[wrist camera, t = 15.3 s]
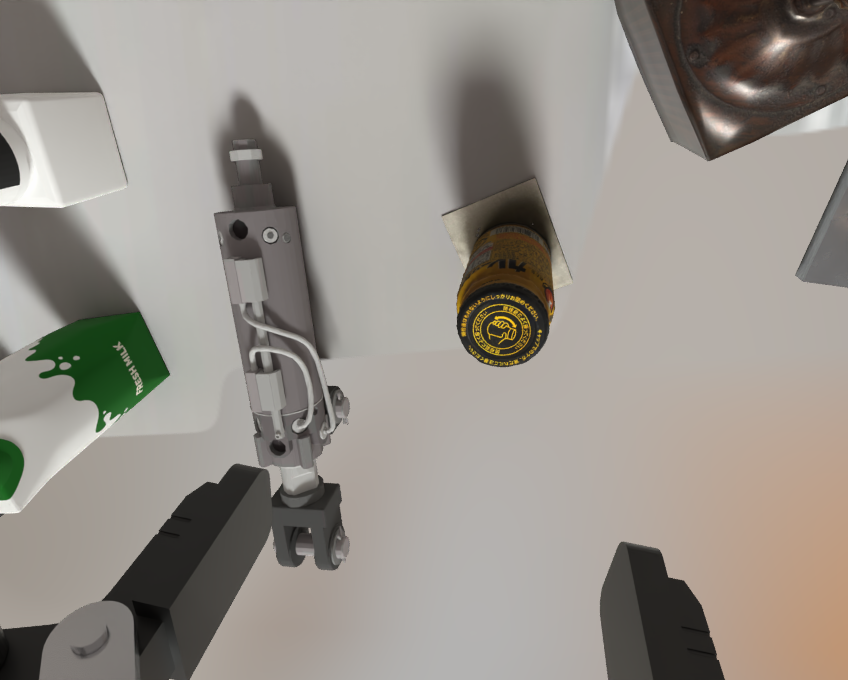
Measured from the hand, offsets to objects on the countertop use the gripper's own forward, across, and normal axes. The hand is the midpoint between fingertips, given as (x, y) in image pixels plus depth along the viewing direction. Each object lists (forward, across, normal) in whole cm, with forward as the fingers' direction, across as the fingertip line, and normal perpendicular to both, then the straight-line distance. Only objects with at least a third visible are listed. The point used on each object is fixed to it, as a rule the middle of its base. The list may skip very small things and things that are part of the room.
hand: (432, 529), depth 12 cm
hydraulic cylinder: (+30, +15, +15) cm, 37 cm away
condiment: (+30, -1, +3) cm, 31 cm away
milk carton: (+30, +34, +18) cm, 49 cm away
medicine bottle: (+30, +34, -1) cm, 46 cm away
